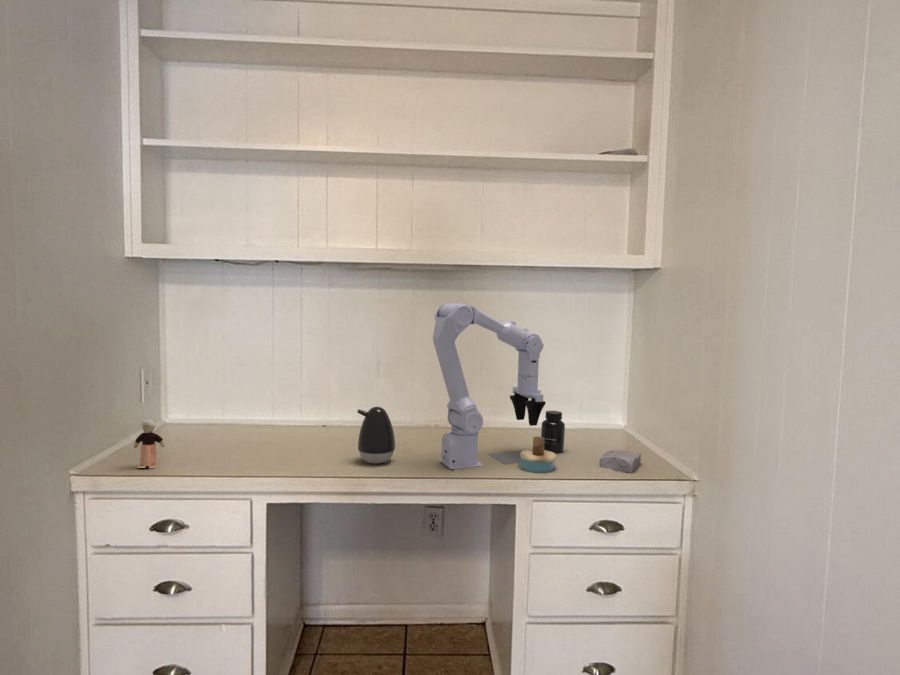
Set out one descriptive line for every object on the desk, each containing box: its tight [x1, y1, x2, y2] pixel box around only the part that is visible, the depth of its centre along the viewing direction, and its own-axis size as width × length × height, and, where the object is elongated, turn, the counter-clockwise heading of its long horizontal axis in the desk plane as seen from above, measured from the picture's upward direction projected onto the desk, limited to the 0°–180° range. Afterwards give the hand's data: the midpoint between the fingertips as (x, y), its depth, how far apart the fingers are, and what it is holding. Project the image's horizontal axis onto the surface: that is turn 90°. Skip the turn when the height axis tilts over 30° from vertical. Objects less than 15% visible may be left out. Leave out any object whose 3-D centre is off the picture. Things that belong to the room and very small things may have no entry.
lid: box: [520, 436, 557, 462], centre depth 165 cm, size 10×10×5 cm
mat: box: [487, 450, 523, 465], centre depth 175 cm, size 11×11×1 cm
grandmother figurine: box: [132, 418, 166, 466], centre depth 159 cm, size 8×4×13 cm, turn 106°
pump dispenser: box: [357, 406, 396, 465], centre depth 169 cm, size 10×10×15 cm
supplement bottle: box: [540, 410, 566, 455], centre depth 182 cm, size 7×7×12 cm
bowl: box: [519, 457, 555, 474], centre depth 165 cm, size 8×8×3 cm
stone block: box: [598, 449, 642, 474], centre depth 170 cm, size 12×5×10 cm
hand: (526, 422), depth 176 cm, fingers open, 7 cm apart
